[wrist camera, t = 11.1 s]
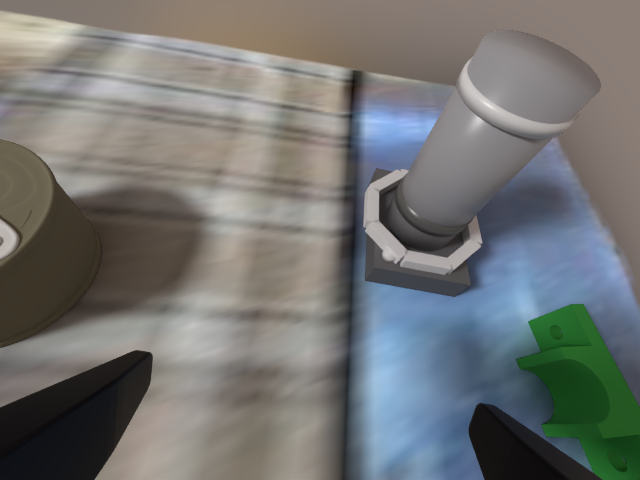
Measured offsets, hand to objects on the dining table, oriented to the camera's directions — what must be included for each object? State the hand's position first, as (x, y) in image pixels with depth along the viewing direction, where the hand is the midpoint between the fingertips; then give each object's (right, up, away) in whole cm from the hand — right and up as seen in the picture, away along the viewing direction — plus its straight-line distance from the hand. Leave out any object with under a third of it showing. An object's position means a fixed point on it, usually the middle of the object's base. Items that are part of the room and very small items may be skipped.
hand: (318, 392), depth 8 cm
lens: (+9, +6, +19) cm, 21 cm away
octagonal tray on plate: (+8, +4, +21) cm, 23 cm away
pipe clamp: (+18, -8, +15) cm, 25 cm away
